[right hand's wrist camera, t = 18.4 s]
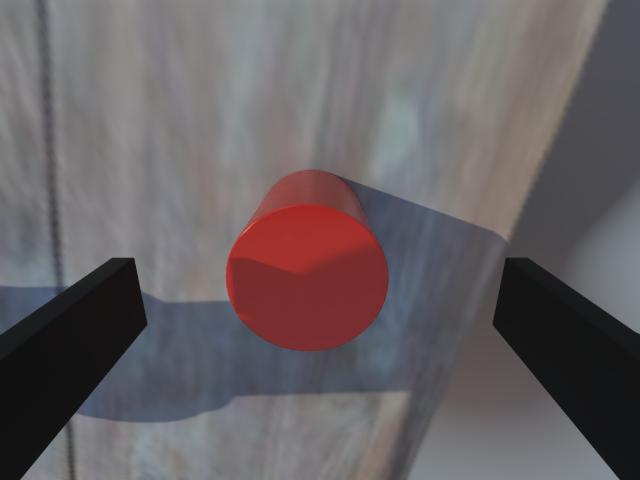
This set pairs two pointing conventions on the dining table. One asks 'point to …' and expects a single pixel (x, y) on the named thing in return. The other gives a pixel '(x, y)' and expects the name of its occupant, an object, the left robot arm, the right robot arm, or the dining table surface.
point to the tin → (308, 265)
